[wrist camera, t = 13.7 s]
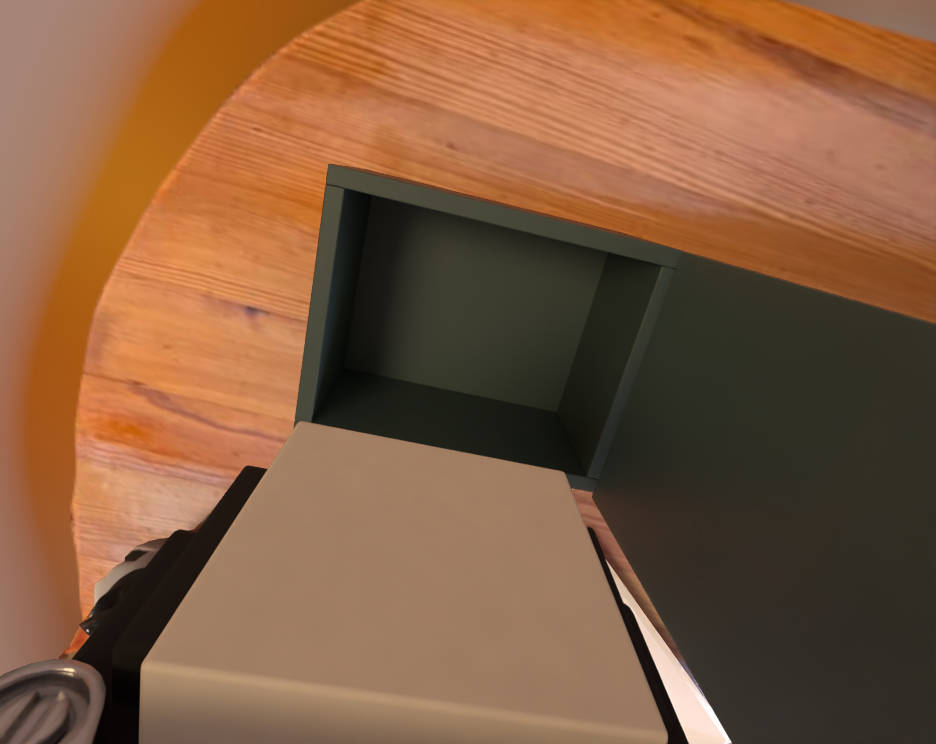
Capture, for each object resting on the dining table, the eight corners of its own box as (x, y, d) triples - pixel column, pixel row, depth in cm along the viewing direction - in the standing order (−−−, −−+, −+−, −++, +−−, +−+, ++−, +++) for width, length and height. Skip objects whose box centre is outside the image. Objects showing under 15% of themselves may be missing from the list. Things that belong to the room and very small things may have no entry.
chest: (332, 372, 33) (292, 435, 25) (363, 168, 29) (327, 163, 21) (562, 419, 35) (596, 493, 27) (623, 232, 31) (686, 251, 22)
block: (298, 419, 9) (136, 665, 4) (565, 470, 10) (674, 740, 5) (269, 629, 11) (128, 973, 6) (499, 664, 11) (533, 1004, 7)
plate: (478, 830, 50) (479, 856, 48) (303, 669, 42) (296, 693, 40) (723, 719, 46) (736, 743, 44) (580, 516, 38) (587, 535, 36)
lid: (849, 951, 11) (1015, 944, 12) (1306, 431, 7) (1514, 479, 8) (591, 497, 26) (672, 508, 27) (682, 251, 22) (774, 273, 23)
